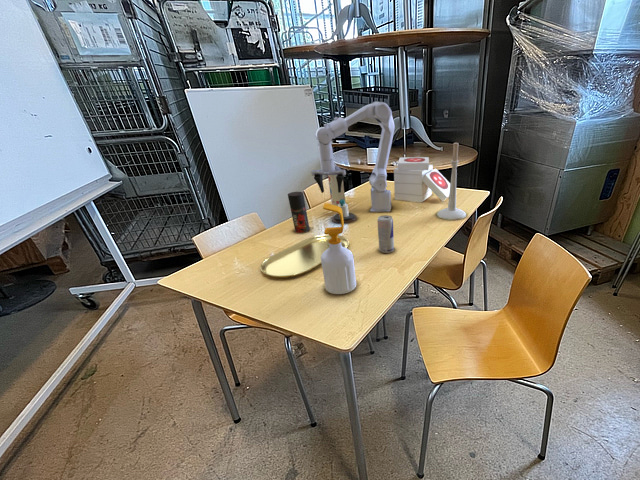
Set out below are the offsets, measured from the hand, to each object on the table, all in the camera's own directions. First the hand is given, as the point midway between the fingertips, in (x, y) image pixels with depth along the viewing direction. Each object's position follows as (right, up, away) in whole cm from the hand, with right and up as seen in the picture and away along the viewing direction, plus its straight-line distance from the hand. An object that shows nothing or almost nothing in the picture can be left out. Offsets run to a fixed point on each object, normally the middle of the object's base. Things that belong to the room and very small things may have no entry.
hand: (331, 192), depth 148 cm
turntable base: (+6, -12, 0) cm, 13 cm away
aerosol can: (0, -1, +18) cm, 18 cm away
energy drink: (+26, -30, -28) cm, 48 cm away
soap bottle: (+13, -44, -49) cm, 67 cm away
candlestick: (+54, -10, +2) cm, 55 cm away
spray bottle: (+6, -11, 0) cm, 13 cm away
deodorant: (-10, -19, -9) cm, 24 cm away
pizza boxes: (+43, +5, +25) cm, 50 cm away
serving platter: (-2, -33, -31) cm, 45 cm away
